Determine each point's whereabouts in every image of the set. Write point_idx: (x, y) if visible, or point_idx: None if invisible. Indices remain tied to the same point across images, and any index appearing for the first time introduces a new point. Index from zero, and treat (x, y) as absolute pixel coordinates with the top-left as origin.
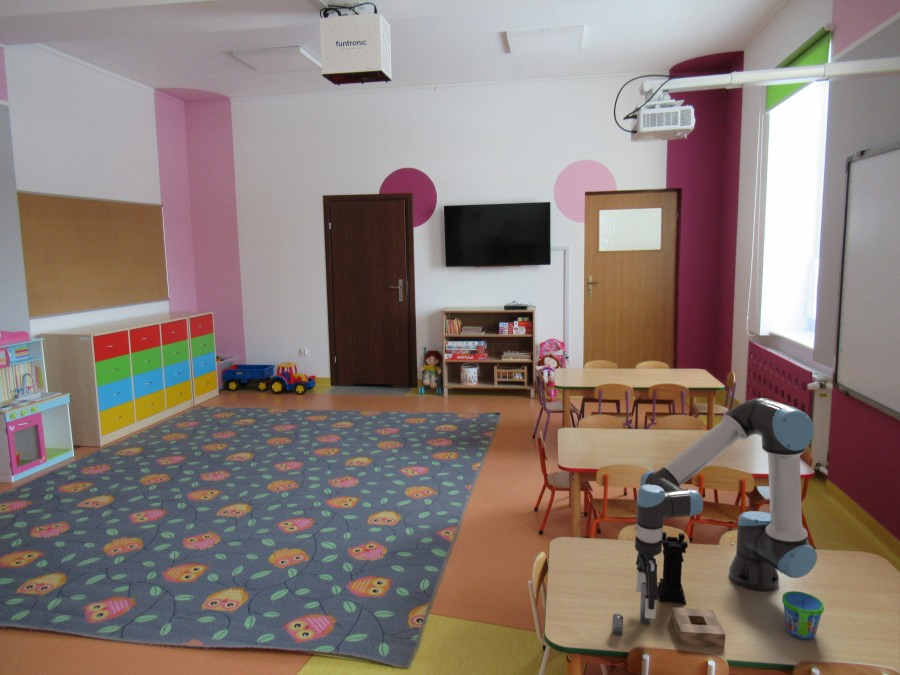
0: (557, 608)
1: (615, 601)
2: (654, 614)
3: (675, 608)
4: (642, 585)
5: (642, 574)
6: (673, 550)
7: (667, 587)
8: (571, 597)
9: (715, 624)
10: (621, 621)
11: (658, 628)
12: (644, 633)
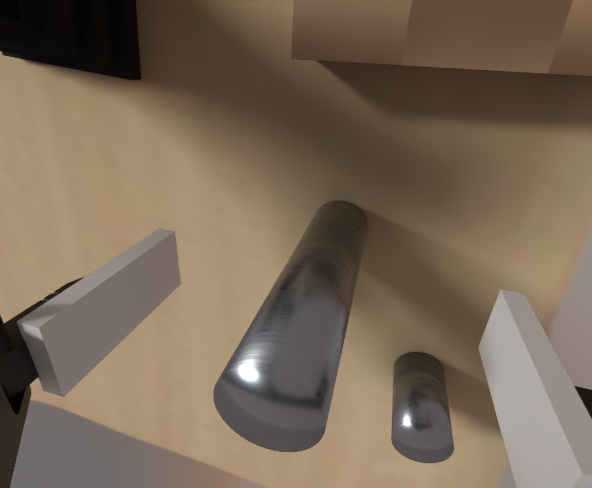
0: (260, 473)
1: (185, 296)
2: (532, 320)
3: (308, 24)
4: (278, 445)
5: (67, 348)
6: None
7: (33, 8)
8: (190, 419)
9: None
10: (450, 428)
11: (405, 173)
12: (444, 263)
